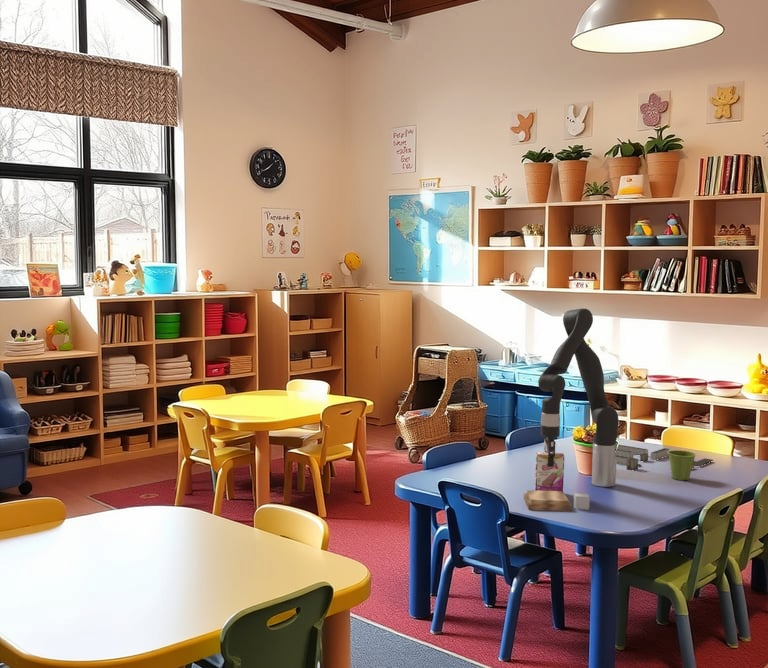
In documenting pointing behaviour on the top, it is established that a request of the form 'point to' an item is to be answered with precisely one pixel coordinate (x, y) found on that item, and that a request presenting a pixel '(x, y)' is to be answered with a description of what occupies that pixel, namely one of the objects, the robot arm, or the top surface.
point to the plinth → (546, 506)
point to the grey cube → (581, 500)
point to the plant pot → (681, 463)
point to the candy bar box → (549, 472)
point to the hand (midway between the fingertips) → (549, 464)
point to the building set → (644, 456)
